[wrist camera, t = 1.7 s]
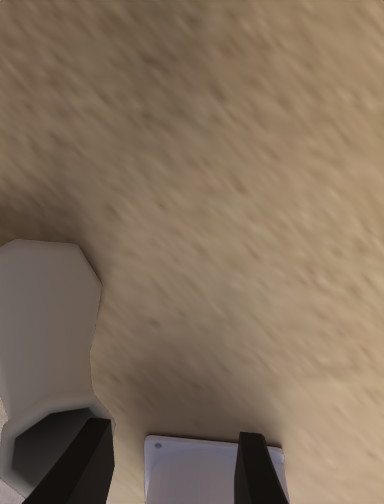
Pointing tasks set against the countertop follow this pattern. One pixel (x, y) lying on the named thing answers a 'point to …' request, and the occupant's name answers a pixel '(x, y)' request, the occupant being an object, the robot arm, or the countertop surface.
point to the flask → (45, 355)
